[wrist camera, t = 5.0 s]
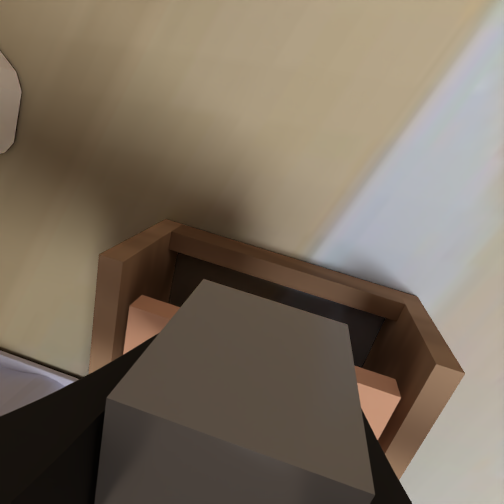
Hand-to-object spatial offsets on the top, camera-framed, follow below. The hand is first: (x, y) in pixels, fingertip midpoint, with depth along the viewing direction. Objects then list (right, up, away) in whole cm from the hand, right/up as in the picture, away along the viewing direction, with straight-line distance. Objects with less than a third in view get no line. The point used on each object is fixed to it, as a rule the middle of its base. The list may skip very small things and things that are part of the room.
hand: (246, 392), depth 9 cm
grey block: (0, 0, +1) cm, 1 cm away
